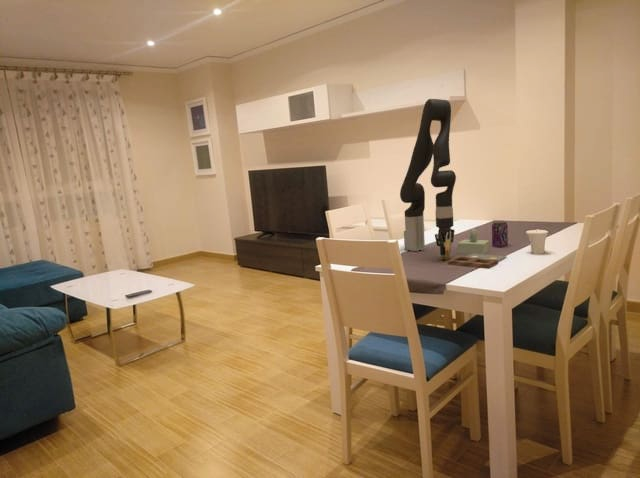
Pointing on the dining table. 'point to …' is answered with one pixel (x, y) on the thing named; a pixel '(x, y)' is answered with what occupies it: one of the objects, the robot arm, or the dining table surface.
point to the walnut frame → (473, 262)
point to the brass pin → (447, 249)
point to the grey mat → (487, 256)
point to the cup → (537, 240)
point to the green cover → (473, 244)
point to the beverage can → (499, 234)
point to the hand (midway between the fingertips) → (445, 253)
